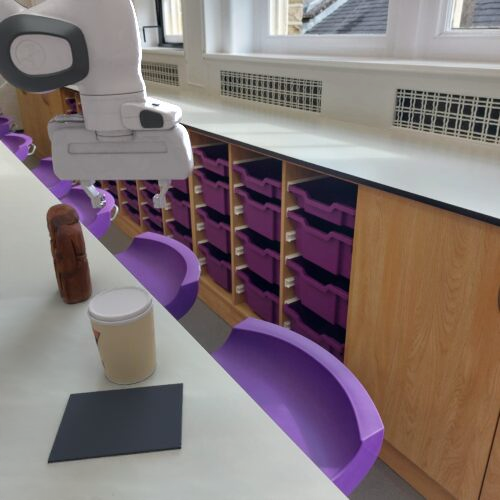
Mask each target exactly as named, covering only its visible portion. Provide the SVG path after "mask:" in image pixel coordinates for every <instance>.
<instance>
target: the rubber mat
mask: <svg viewBox="0 0 500 500" xmlns="http://www.w3.org/2000/svg"><path fill="white" fill-rule="evenodd" d="M183 393H184V382H180V383H179V382H178V383H177V382H176V383H169V384H158V385H148V386H138V387H137V386H136V387H128V388H126V387H125V388H117V389H116V388H115V389H106V390H96V391H88V392H87V391H85V392H76V393H70V394H69V396H68V399H67V403H66V405H65V408H64V412H63V415H62V417H61V421H60V424H59V426H58V430H57V432H56V435H55V438H54V441H53V444H52V447H51V449H50V453H49V456H48V459H47V463H48V464H52V463H60V462H68V461H79V460H87V459H96V458H106V457H117V456H125V455H134V454H135V455H136V454H144V453H152V452H160V451H161V452H162V451H171V450H179V449H182V431H183V429H182V428H183V427H182V426H183V399H184V398H183V397H184V395H183Z"/></svg>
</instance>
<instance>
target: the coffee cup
mask: <svg viewBox="0 0 500 500" xmlns="http://www.w3.org/2000/svg"><path fill="white" fill-rule="evenodd" d="M154 304H155V303H154V298H153V296H152V294H151V293H150V292H149V291H148V290H147V289H146V288H143V287H141V286H140V287H139V286H133V285H122V286H116V287H112V288H108V289H106V290H103V291H101V292H99V293H97V294H96V295H94V296H93V297H92V298H91V299H90V300H89V302H88V306H87V308H86V314H87V317H88V319H89V322H90V326H91V329H92V333H93V336H94V340H95V344H96V346H97V350H98V354H99V357H100V360H101V361H100V362H101V364H102V367H103V370H104V373H105V376H106V378H107V379H108V381H110V382H112V383H114V384H118V385H132V384H136V383H139V382H142V381H145V380H146V379H147V378H148V377H150V376H151V375H152V374H153V373H154V372H155V370H156V367H157V347H156V346H157V345H156V329H155V316H154V315H155V314H154Z"/></svg>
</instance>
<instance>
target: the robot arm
mask: <svg viewBox="0 0 500 500" xmlns="http://www.w3.org/2000/svg"><path fill="white" fill-rule="evenodd" d="M140 37H141V36H140V31H139V25H138V20H137V16H136V12H135V8H134V5H133V2H132V0H44V1H42V2H40V3H38V4H36V5H34V6H32V7H27V6H25V5H23V4H22V3H20V2H19V1H17V0H0V76H1V77H2V78H3V79H4V80H5V81H6V82H7V83H9V84H10V85H11V86H12V87H15V88H16V89H18V90H21V91H23V92H26V93H31V94H40V95H41V94H42V95H43V94H49V93H53V92H55V91H58V90H59V89H61V88H65V87H69V86H76V87H77V88H78V92H79V97H80V104H81V110H82V113H72V114H63V113H60V114H56V115H54V117H52V118H51V119H50V120H49V121H48V123H47V126H46V128H47V134H48V138H49V141H50V142H51V161H52V168H53V169H52V170H53V173H54V175H55V177H57V178H58V179H59V180H60V181H79V182H80V188H81V189H82V191H83V192H84V193H85V194H86V195H87V196H88V197H89V199H90V201H91V206H92V209H104V207H106V204H107V202H106V196H105V195H106V194H105V193H100V192H99V191H98V189H97V188H96V187H95V186H94V184H95V183H96V181H145V180H146V181H157V184H158V187H161V190H160V192H159V193H155V195H154V196H152V203H153V209H165V208H166V206H167V199H166V198H167V197H166V194H167V193H168V190H169V188H170V186H171V184H172V181H173V180H174V181H177V180H178V181H180V180H181V181H185V180H187V179H188V178H189V177H190V176H191V174H192V173H193V171H194V168H195V164H194V163H195V162H194V153H193V148H192V143H191V139H190V136H189V133H188V131H187V129H186V128H185V127H184V126H183V125H182V124H180V122H181V121H182V118H183V117H182V116H183V114H182V113H183V112H182V109H181V107H179V106H178V105H174V104H170V103H168V102H165V101H160V100H158V99H154V98H153V97H148V96H147V87H146V84H145V80H144V79H143V75H142V66H141V65H142V60H143V59H142V58H143V52H142V46H141V45H142V44H141V38H140Z"/></svg>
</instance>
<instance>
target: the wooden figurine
mask: <svg viewBox="0 0 500 500" xmlns="http://www.w3.org/2000/svg"><path fill="white" fill-rule="evenodd" d="M45 216H46V218H45V219H46V228H47V230H48V236H49V237H50V238H49V239H50V240H49V245H50V252H51V258H52V261H53V262H52V263H53V269H54V272H55V273H54V274H55V278H56V283H57V289H58V290H59V292H60V297H61V299H63V301H64V302H65V303H66V304H74V303H75V304H76V303H79V302H83V301H85V300H87V299H89V298H90V297H91V295H92V293H93V285H92V277H91V271H90V269H91V268H90V265H89V264H90V263H89V260H88V259H89V258H88V253H87V247H86V240H85V237H84V232H83V228H82V225H81V221H80V215H79V214H78V211H77V210H76V208H75V207H74V206H72V205H71V204H68V203H64V202H62V203H57V204H53V205H52V206H50V207H49V208H48V210H47V212H46V215H45Z"/></svg>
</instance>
